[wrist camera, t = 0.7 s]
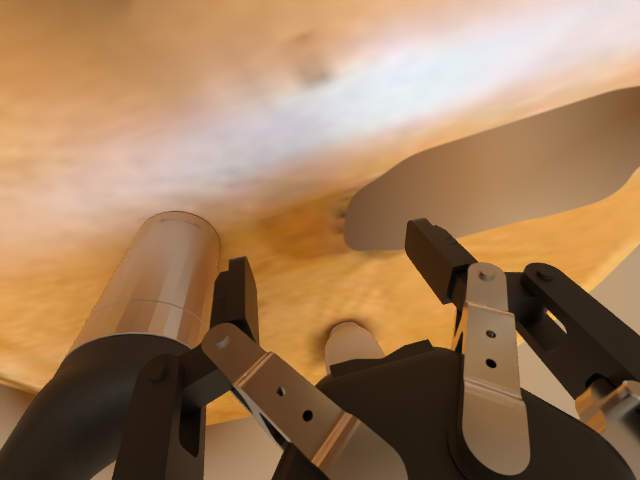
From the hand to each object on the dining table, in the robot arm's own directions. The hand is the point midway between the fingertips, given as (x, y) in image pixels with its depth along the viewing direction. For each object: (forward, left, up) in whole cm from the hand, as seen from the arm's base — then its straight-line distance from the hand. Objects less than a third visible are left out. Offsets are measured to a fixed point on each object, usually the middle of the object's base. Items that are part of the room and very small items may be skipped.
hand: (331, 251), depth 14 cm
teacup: (-32, -19, -21) cm, 42 cm away
